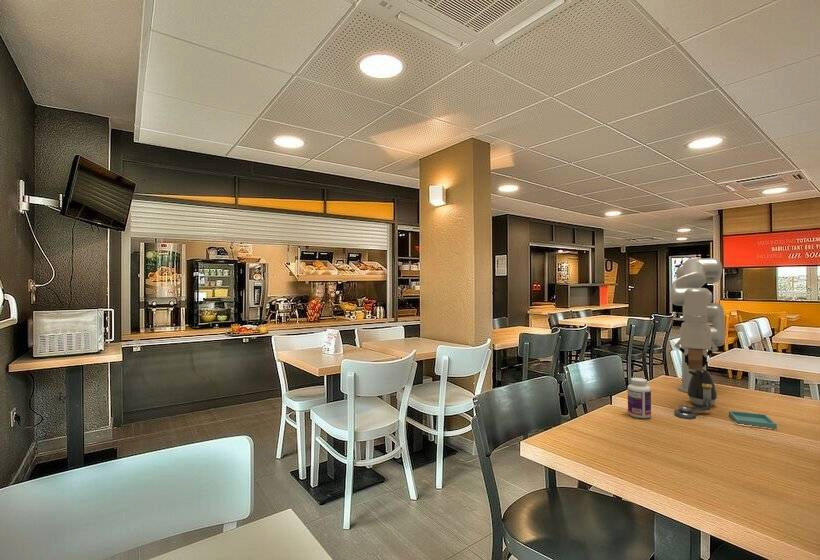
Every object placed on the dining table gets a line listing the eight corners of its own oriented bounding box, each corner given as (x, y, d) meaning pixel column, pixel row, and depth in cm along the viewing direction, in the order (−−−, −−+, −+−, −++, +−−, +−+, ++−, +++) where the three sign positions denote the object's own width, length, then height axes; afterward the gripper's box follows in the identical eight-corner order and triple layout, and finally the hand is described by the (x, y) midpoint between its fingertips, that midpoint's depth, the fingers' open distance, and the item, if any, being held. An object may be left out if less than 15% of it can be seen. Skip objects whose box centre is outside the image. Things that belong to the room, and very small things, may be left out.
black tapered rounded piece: (681, 400, 179) (681, 366, 179) (706, 400, 179) (705, 366, 179) (697, 408, 169) (696, 371, 169) (722, 408, 169) (722, 371, 169)
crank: (685, 413, 157) (684, 387, 157) (676, 410, 161) (675, 385, 161) (715, 410, 161) (715, 385, 161) (705, 407, 165) (705, 382, 165)
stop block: (702, 370, 159) (702, 350, 159) (688, 369, 162) (688, 348, 162) (702, 368, 163) (702, 348, 163) (689, 367, 166) (689, 347, 165)
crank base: (672, 412, 164) (672, 408, 164) (693, 414, 161) (693, 410, 161) (675, 417, 158) (675, 413, 158) (697, 420, 155) (697, 416, 155)
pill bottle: (645, 412, 164) (645, 377, 164) (655, 419, 156) (655, 382, 156) (624, 412, 165) (624, 376, 165) (633, 419, 157) (632, 381, 157)
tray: (728, 416, 159) (728, 410, 159) (765, 420, 154) (765, 414, 154) (737, 425, 149) (737, 419, 149) (776, 430, 144) (776, 424, 144)
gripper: (669, 319, 164) (669, 364, 165) (722, 321, 154) (722, 370, 154) (671, 317, 170) (671, 361, 171) (722, 320, 160) (722, 366, 160)
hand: (695, 365), depth 162 cm, fingers closed on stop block, 4 cm apart
